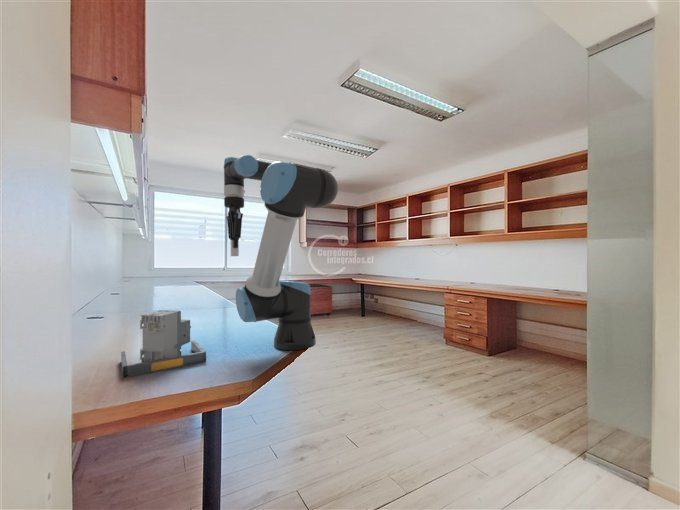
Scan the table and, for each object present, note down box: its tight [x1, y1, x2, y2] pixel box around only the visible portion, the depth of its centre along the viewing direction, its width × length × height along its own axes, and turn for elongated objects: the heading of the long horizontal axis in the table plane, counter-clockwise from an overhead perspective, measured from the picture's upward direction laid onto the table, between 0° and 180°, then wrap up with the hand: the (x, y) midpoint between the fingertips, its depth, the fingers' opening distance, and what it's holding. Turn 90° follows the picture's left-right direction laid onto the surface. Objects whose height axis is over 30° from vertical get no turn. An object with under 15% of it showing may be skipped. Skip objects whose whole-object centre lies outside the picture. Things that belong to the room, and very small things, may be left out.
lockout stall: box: [120, 340, 207, 379], centre depth 96 cm, size 17×21×3 cm
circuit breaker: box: [139, 309, 192, 363], centre depth 99 cm, size 8×14×15 cm, turn 169°
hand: (234, 256), depth 124 cm, fingers closed
